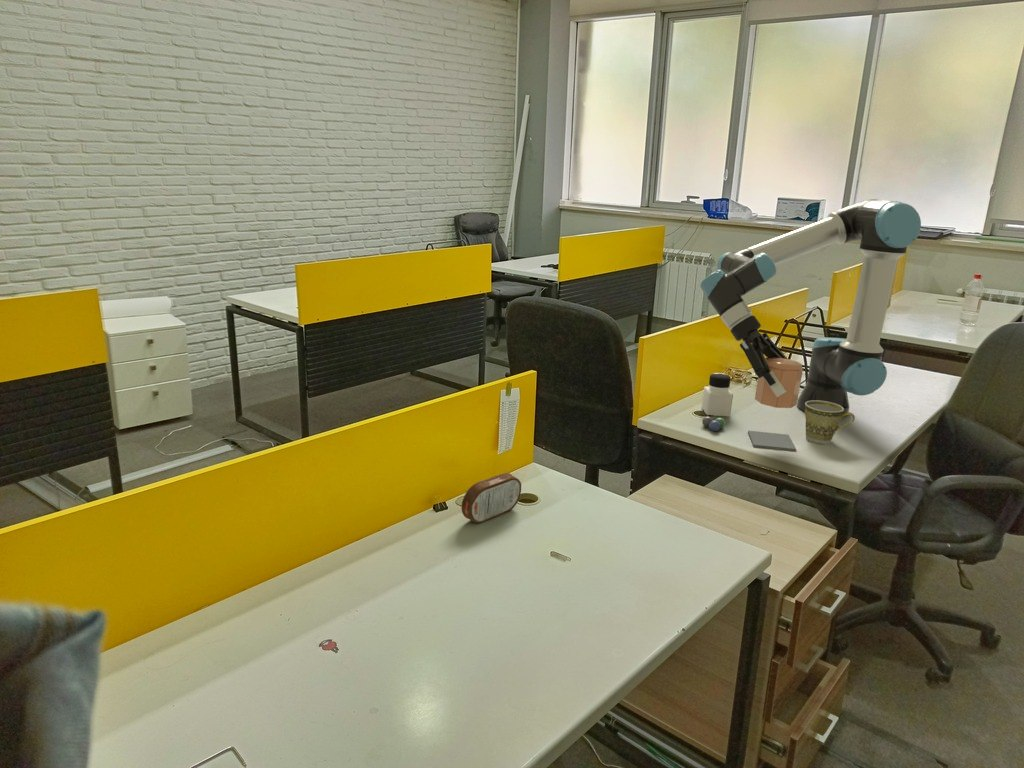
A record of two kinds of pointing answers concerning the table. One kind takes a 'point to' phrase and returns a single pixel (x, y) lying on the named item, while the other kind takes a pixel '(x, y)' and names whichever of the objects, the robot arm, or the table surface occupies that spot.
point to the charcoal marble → (707, 421)
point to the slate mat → (771, 440)
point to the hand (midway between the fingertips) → (789, 390)
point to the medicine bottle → (717, 396)
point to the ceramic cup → (823, 420)
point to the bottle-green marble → (720, 422)
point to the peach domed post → (787, 376)
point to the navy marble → (714, 425)
